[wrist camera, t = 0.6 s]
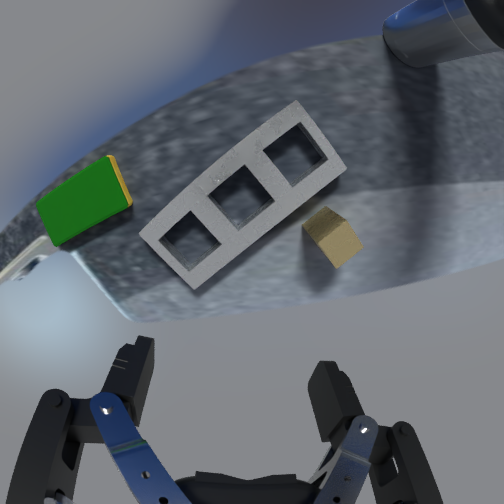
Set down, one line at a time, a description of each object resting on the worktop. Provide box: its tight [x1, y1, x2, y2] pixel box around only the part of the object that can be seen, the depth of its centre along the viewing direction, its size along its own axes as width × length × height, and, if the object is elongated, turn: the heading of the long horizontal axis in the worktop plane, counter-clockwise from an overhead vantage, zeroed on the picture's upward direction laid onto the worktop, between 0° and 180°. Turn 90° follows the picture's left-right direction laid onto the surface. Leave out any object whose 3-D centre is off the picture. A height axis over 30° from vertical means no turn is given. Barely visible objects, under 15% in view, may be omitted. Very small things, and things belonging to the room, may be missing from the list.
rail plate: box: [139, 100, 347, 290], centre depth 32 cm, size 24×10×2 cm, turn 129°
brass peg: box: [302, 206, 363, 269], centre depth 32 cm, size 4×4×7 cm
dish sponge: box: [36, 155, 133, 247], centre depth 31 cm, size 7×14×2 cm, turn 110°
